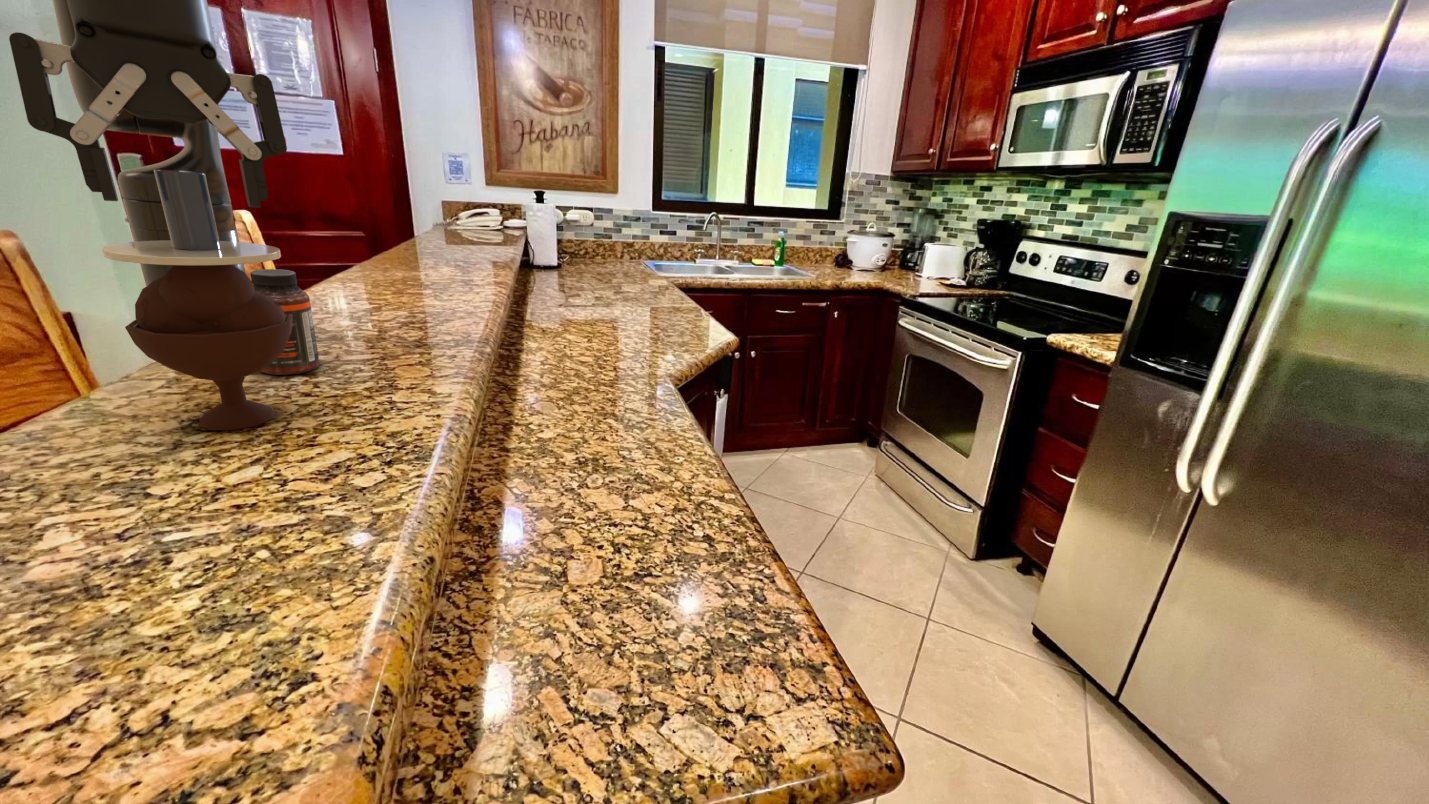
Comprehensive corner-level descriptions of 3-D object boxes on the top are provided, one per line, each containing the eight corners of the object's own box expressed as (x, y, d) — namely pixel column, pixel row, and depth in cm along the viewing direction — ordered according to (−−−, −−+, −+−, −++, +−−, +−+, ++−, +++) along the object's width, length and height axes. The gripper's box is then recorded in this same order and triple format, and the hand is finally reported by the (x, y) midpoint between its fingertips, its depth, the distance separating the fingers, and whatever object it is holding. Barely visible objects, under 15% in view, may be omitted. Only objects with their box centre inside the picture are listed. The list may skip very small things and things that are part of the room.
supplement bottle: (250, 377, 61) (228, 275, 57) (265, 361, 66) (246, 266, 62) (315, 375, 63) (298, 276, 59) (325, 360, 68) (310, 268, 64)
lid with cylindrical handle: (107, 246, 46) (82, 161, 44) (271, 247, 54) (258, 174, 51) (99, 266, 39) (69, 166, 37) (291, 264, 46) (276, 180, 44)
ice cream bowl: (335, 405, 57) (312, 256, 51) (237, 451, 46) (194, 270, 41) (239, 392, 57) (206, 243, 52) (120, 435, 47) (63, 254, 41)
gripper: (253, 2, 46) (287, 205, 52) (-20, -64, 37) (59, 193, 42) (266, -14, 41) (302, 213, 47) (-45, -94, 32) (47, 202, 38)
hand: (186, 203), depth 45 cm, fingers open, 8 cm apart
